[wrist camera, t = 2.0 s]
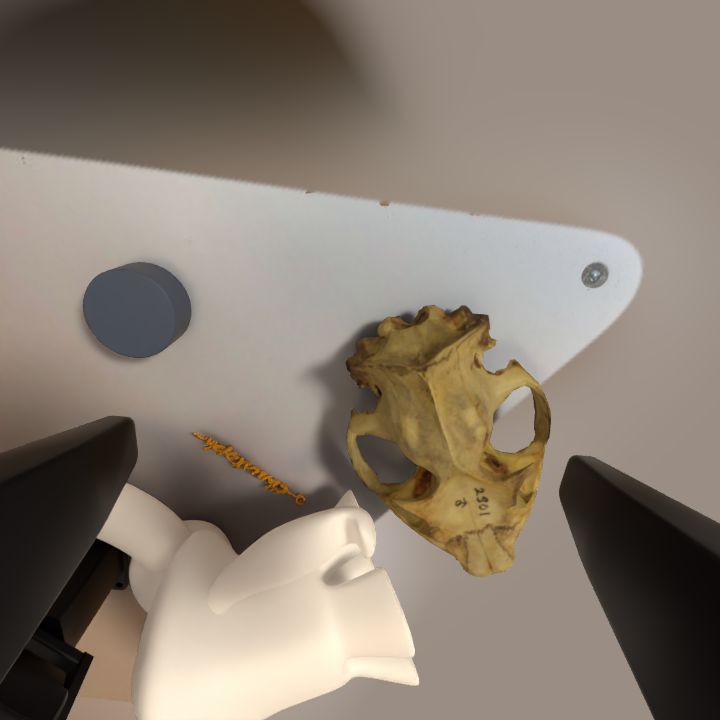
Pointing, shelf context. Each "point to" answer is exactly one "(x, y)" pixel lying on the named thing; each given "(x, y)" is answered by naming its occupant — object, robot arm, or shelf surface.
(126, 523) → the toy animal
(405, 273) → the shelf surface
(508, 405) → the shelf surface
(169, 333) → the short blue cylinder
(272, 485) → the keychain
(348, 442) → the animal skull
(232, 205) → the shelf surface
